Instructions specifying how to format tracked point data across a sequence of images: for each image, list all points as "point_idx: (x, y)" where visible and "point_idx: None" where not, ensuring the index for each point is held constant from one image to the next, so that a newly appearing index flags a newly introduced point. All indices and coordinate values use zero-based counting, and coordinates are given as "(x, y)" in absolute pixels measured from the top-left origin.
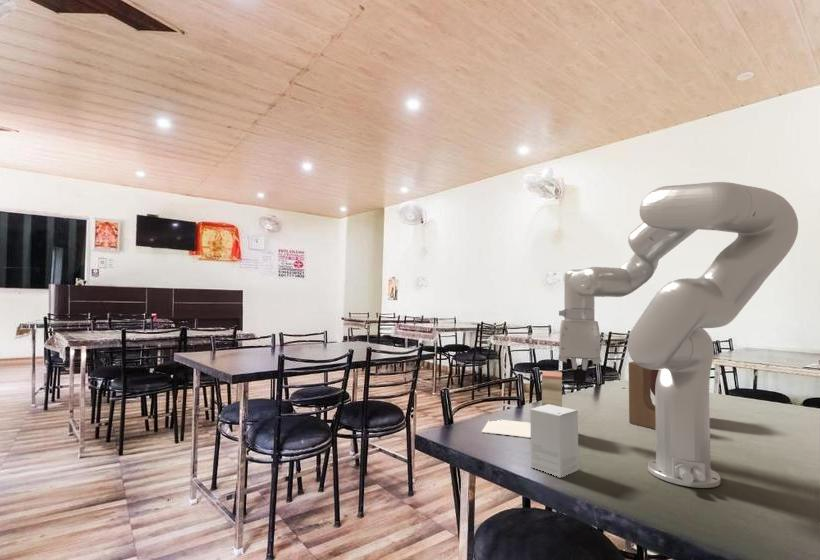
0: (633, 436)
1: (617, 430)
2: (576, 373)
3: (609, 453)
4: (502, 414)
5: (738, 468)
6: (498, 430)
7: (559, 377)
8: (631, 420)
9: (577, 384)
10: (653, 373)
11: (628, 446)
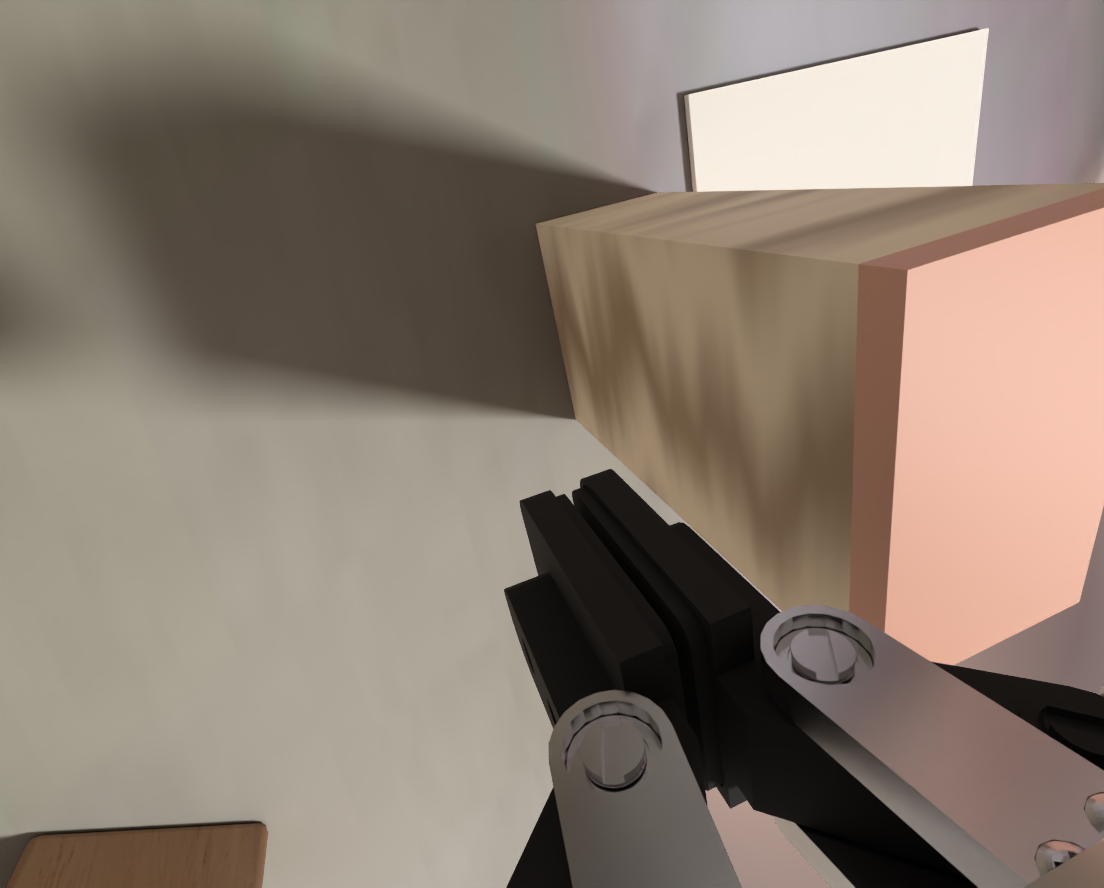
0: (141, 601)
1: (280, 649)
2: (703, 576)
3: (120, 43)
4: None
5: None
6: (903, 125)
7: (928, 258)
8: (248, 841)
9: (596, 474)
10: None
11: (70, 344)
